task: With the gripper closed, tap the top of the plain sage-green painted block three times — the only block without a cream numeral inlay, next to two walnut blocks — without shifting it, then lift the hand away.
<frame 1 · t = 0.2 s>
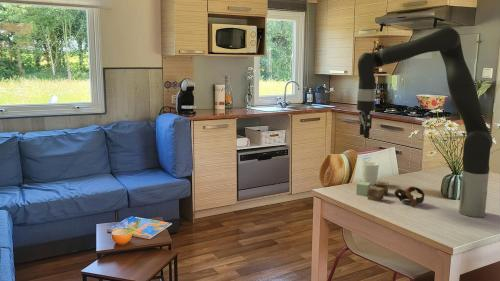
hand: (364, 136, 195), 27 cm above the table, fingers open, 8 cm apart
walnut block one: (381, 193, 204), on the table
white cup: (369, 183, 221), on the table
plain block: (363, 194, 203), on the table
walnut block two: (375, 199, 195), on the table
brown looped ring sculpture: (408, 203, 190), on the table
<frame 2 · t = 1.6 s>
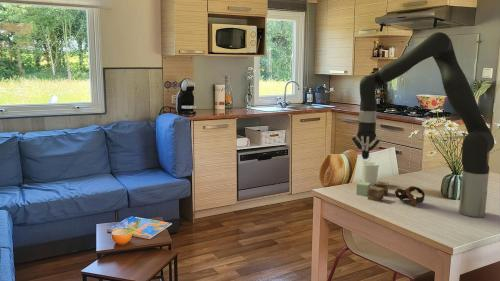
hand: (365, 158, 200), 16 cm above the table, fingers closed
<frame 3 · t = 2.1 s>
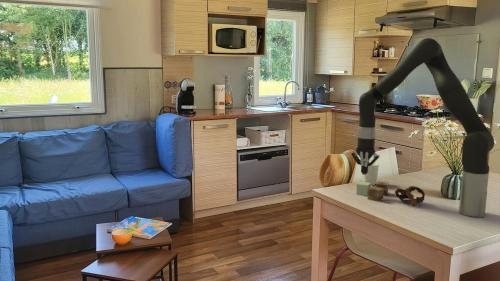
hand: (364, 174, 202), 9 cm above the table, fingers closed
nothing on the table moved.
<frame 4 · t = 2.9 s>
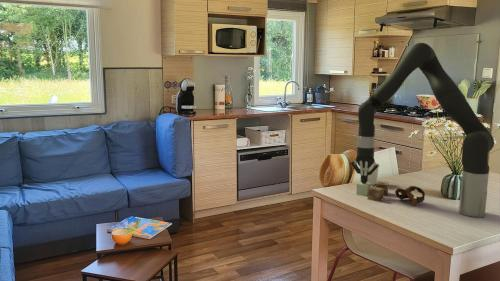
hand: (363, 183, 202), 5 cm above the table, fingers closed
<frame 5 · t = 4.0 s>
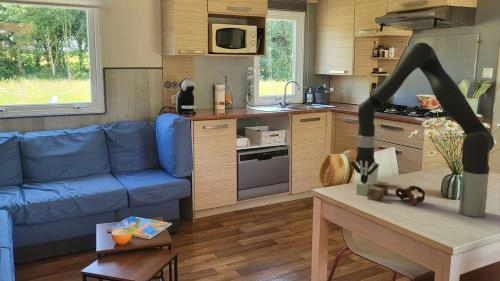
hand: (364, 182, 202), 5 cm above the table, fingers closed
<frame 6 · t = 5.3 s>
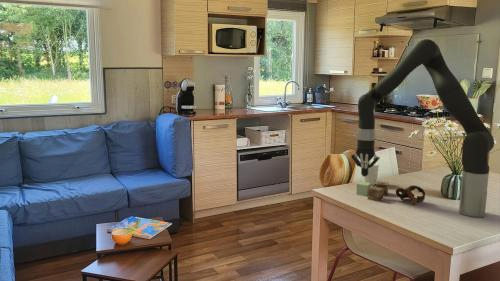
hand: (364, 176, 201), 8 cm above the table, fingers closed
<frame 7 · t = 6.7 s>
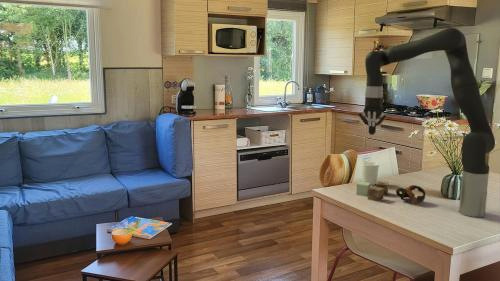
hand: (371, 134, 202), 27 cm above the table, fingers closed
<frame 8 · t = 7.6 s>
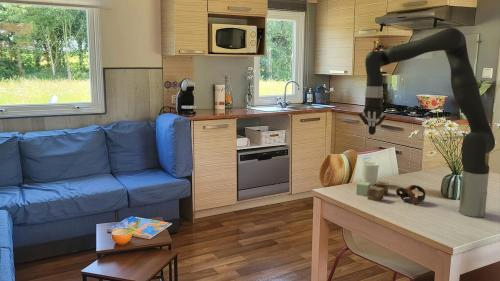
hand: (371, 134, 202), 27 cm above the table, fingers closed
at the end: plain block moved 0.1 cm from its start; plain block tilted 0°; plain block touching table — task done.
